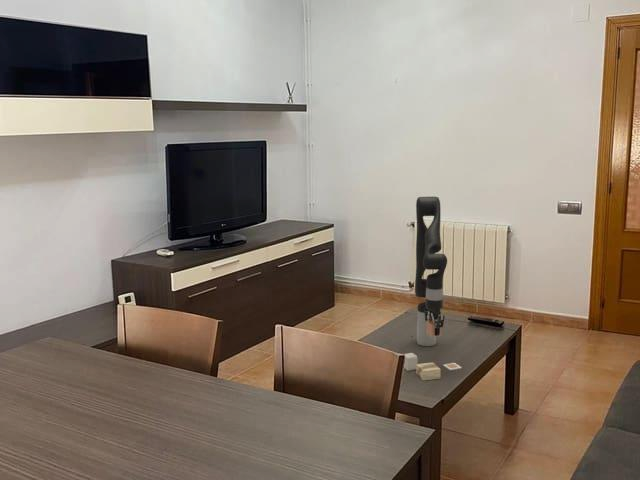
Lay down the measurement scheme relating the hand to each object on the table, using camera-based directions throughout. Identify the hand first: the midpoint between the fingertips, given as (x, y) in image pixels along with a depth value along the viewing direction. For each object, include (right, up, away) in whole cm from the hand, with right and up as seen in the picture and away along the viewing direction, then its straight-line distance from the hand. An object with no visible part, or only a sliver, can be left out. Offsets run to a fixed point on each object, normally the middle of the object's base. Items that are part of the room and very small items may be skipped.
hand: (433, 333), depth 281 cm
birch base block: (-4, -18, -8) cm, 20 cm away
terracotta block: (0, -1, 0) cm, 1 cm away
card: (+9, -15, +1) cm, 18 cm away
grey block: (-11, -16, +1) cm, 19 cm away
